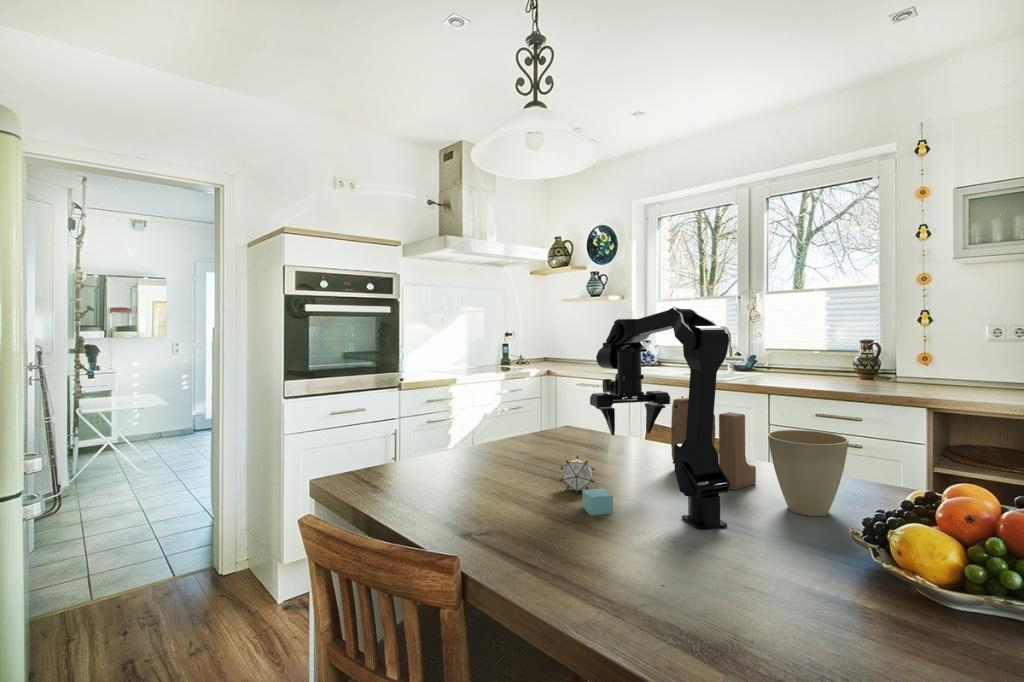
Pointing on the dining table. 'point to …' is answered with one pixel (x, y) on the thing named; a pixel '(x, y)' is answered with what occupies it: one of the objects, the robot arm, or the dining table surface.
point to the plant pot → (808, 468)
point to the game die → (577, 474)
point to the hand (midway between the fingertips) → (630, 434)
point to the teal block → (597, 501)
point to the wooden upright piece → (682, 423)
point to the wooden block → (734, 451)
